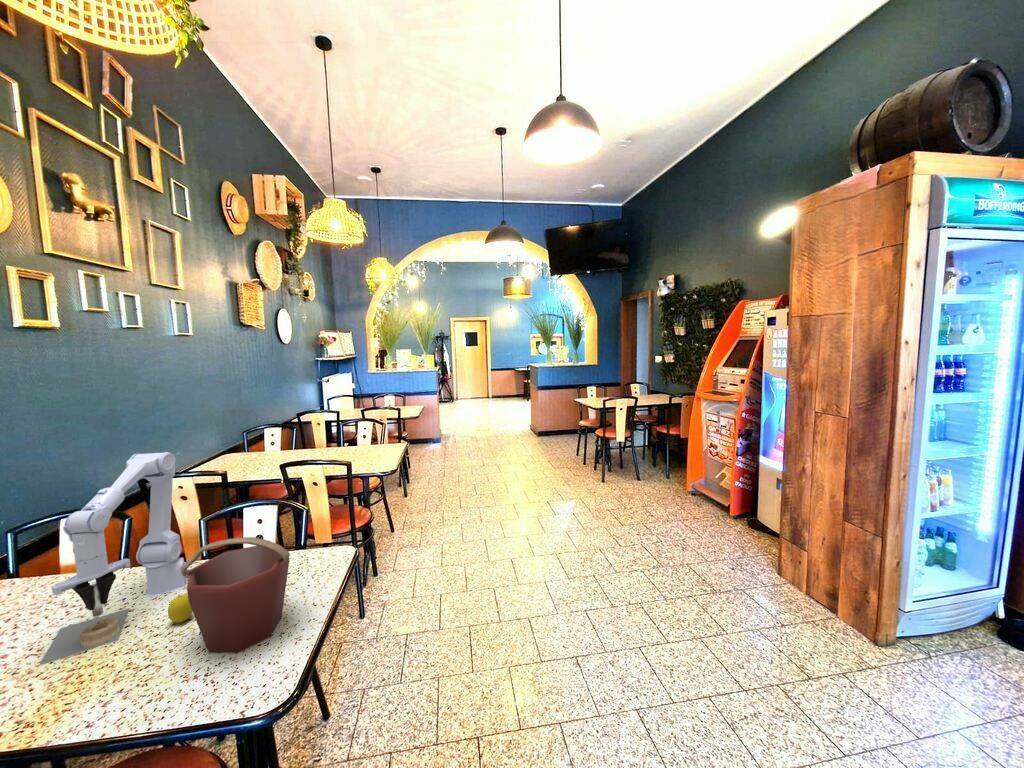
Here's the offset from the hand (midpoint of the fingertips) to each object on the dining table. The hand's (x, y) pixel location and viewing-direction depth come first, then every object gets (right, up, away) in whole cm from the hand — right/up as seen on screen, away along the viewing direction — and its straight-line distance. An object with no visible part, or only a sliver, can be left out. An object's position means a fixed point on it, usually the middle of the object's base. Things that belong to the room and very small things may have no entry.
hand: (97, 605), depth 107 cm
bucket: (+37, -8, +3) cm, 38 cm away
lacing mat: (-4, -9, +2) cm, 11 cm away
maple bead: (0, -9, +1) cm, 9 cm away
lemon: (+17, -8, +7) cm, 20 cm away
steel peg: (0, -2, 0) cm, 2 cm away
